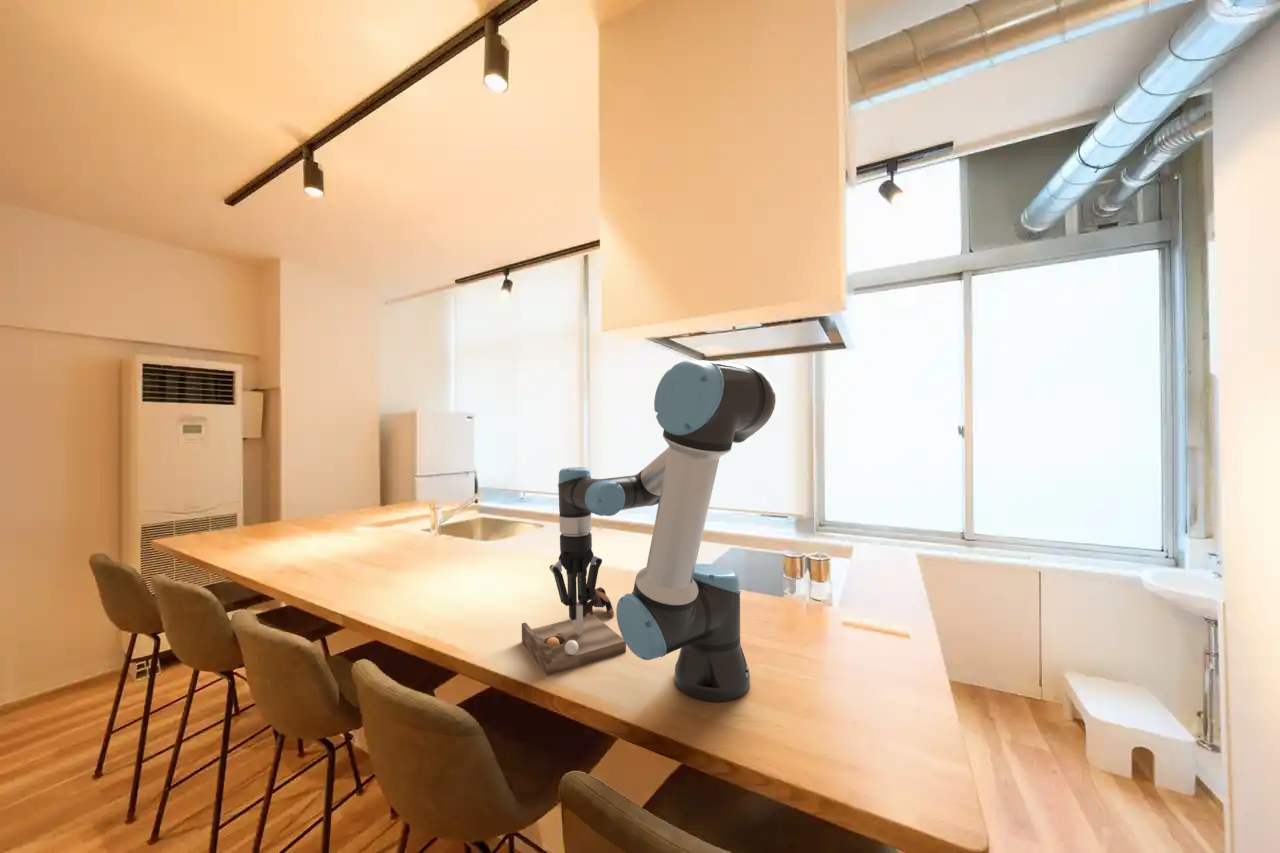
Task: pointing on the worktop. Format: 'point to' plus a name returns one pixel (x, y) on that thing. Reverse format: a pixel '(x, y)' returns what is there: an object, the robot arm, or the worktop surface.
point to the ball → (552, 641)
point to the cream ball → (571, 647)
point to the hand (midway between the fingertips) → (578, 631)
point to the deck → (591, 642)
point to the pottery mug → (600, 602)
